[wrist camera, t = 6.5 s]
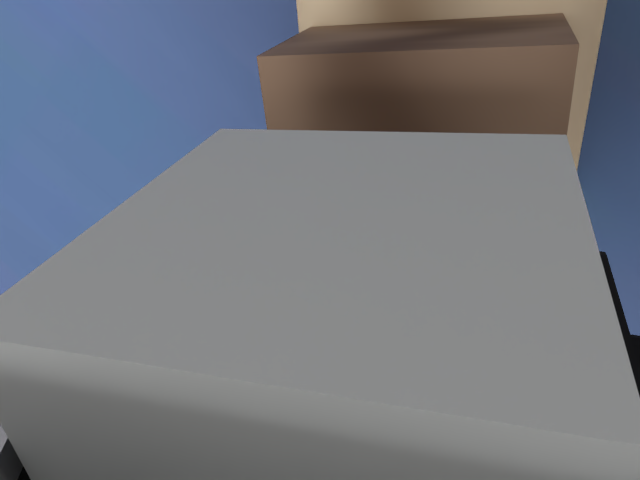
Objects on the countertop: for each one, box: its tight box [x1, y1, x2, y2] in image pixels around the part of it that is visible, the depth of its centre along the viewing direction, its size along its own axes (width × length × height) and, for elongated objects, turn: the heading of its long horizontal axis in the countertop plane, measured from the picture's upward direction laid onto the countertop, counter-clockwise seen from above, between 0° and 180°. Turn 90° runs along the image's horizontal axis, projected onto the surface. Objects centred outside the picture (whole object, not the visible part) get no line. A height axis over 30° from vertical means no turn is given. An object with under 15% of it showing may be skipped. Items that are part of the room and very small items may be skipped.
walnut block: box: [257, 13, 579, 135], centre depth 16 cm, size 8×8×4 cm
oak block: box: [296, 0, 607, 171], centre depth 20 cm, size 9×9×4 cm
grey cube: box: [0, 129, 640, 480], centre depth 8 cm, size 6×6×6 cm
